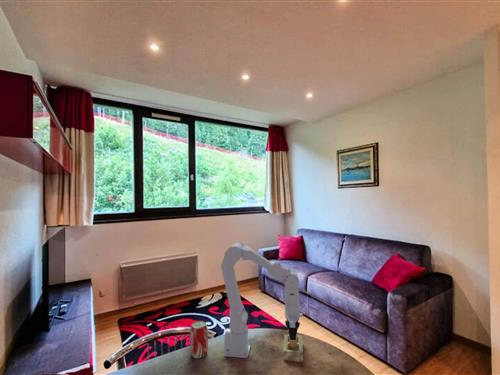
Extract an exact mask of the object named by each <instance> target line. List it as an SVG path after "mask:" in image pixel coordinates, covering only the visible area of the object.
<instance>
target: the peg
mask: <svg viewBox="0 0 500 375" xmlns="http://www.w3.org/2000/svg"><path fill="white" fill-rule="evenodd" d="M289 345H290V346H291V347H296V346H297V336H296V340H290V336H289Z"/></svg>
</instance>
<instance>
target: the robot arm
mask: <svg viewBox="0 0 500 375" xmlns="http://www.w3.org/2000/svg"><path fill="white" fill-rule="evenodd" d="M240 260H241V261H242V262H243V261H251V262H253V263H255V264H256V265H259V266H260V267H262V268H264V269H266V271H267V274H268V275H270V276H271V277H272V278H274V279H276V280H277V281H279V282H280V283H283V285H284V316H285V319H286V320H285V322H284V323H285V326H286V328H287V331H288V335H289V336H290V340H296V336H297V335H298V330H299V328H300V325H301V323H300V322H299V320H300V318H303V312H300V290H299V289H300V288H299V286H300V280H299V276H298V273H297V272H296V271H295V270H293V269H291V268H287V267H285V266H283V265H282V264H281V261H274V260H273V261H270V260H268V259H267V258H266V257H264V256H263V255H261V254H259V253H258V252H257V251H255V250H253V249H252V248H251V247H249V246H248V245H244V244H243V243H242V242H235V243H233V244H232V245H231V246H229V247H228V248H227V249H226V251H225V252H224V256H223V259H222V261H221V264H220V269H221V272H222V277H223V278H222V279H223V282H224V286H225V291H226V296H227V300H228V304H229V305H228V306H229V324H228V325H229V326H228V327H229V328H228V327H227V328H226V329H225V333H224V355H223V356H224V357H231V358H242V359H243V358H244V359H248V356H249V353H250V349H251V345H250V344H249V327H248V325H247V321H248V319H249V313H248V311H246V309H245V306H244V304H243V302H242V300H241V294H240V289H239V285H238V281H237V280H238V279H237V276H236V272H235V265H236V264H237V262H238V261H239V262H240Z"/></svg>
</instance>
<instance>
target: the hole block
mask: <svg viewBox="0 0 500 375" xmlns="http://www.w3.org/2000/svg"><path fill="white" fill-rule="evenodd" d="M283 336H284V337H283V361H287V362H300V363H301V362H302V363H304V349H303V348H304V346H303V345H304V344H303V335H300V334H299V335H298V334H297V346H296V347H291V346H290V345H289V334H284V335H283Z"/></svg>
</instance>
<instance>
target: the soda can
mask: <svg viewBox="0 0 500 375" xmlns="http://www.w3.org/2000/svg"><path fill="white" fill-rule="evenodd" d="M208 330H209V329H208V326H207V322H206V321H203V320H197V321H195V322H193V323H192V324H191V328H190V330H189V332H190V333H189V334H190V335H189V338H190V339H189V342H190V343H189V344H190V345H189V350H190V356H191V357H192V358H195V359H201V358H204V357H205V356H206V355H207V354H208V350H209V341H208V340H209V338H208V337H209V334H208Z"/></svg>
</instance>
